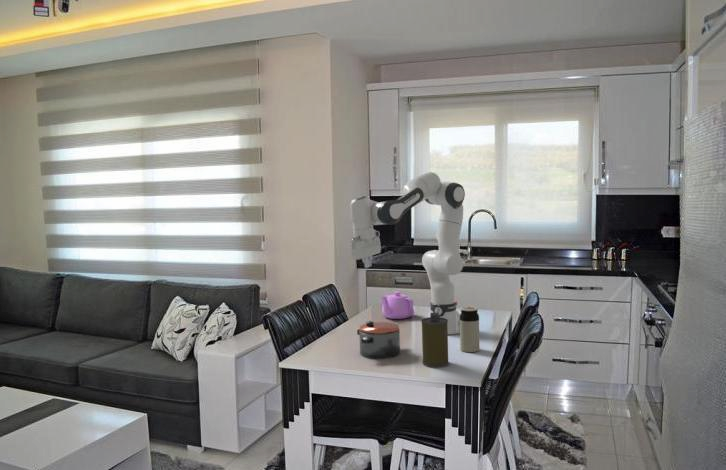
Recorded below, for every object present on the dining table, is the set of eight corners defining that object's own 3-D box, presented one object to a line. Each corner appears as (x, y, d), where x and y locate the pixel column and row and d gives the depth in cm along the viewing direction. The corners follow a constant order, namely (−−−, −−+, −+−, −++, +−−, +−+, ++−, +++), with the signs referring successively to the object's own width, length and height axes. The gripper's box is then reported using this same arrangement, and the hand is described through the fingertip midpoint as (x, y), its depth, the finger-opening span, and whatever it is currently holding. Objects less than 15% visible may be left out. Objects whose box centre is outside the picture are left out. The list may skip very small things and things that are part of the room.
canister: (448, 368, 212) (447, 316, 211) (421, 367, 214) (419, 316, 213) (449, 359, 223) (448, 310, 221) (423, 359, 225) (422, 310, 223)
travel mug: (476, 353, 230) (475, 310, 229) (457, 351, 234) (457, 309, 232) (481, 348, 237) (481, 306, 236) (463, 346, 241) (463, 305, 239)
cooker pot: (374, 343, 251) (374, 321, 250) (410, 347, 242) (410, 324, 241) (345, 358, 230) (344, 334, 229) (383, 363, 221) (383, 338, 220)
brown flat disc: (371, 323, 246) (371, 317, 246) (405, 327, 238) (405, 320, 238) (352, 332, 232) (352, 325, 232) (387, 336, 224) (387, 329, 223)
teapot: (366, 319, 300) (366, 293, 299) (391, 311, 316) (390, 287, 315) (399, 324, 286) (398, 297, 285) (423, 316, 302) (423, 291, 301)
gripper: (357, 237, 226) (362, 271, 227) (381, 231, 243) (385, 262, 244) (344, 238, 229) (349, 271, 230) (369, 233, 247) (373, 263, 247)
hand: (368, 267), depth 237 cm, fingers closed
